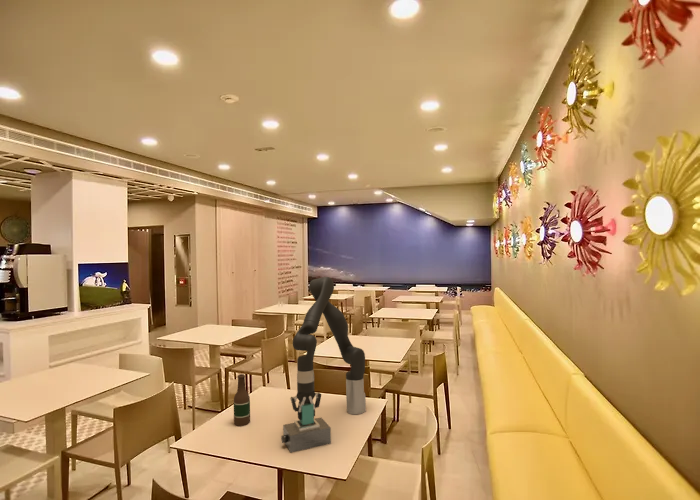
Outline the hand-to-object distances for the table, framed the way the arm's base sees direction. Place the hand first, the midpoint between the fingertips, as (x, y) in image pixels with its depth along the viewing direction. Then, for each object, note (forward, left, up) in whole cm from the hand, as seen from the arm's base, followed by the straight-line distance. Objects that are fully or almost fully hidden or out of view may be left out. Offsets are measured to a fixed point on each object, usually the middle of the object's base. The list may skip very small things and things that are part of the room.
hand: (306, 418), depth 173 cm
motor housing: (0, 0, -10) cm, 10 cm away
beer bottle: (+23, -33, -11) cm, 42 cm away
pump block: (0, 0, -1) cm, 1 cm away
